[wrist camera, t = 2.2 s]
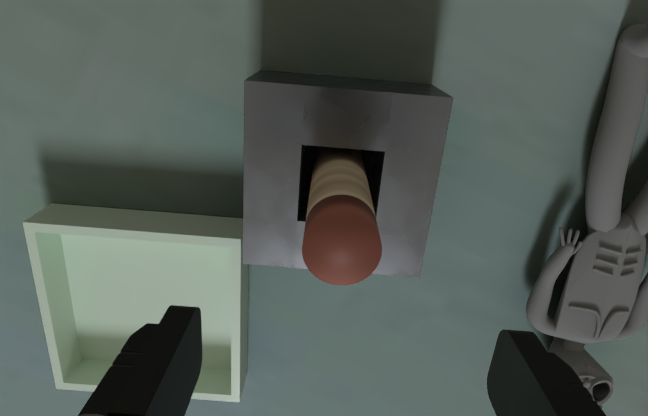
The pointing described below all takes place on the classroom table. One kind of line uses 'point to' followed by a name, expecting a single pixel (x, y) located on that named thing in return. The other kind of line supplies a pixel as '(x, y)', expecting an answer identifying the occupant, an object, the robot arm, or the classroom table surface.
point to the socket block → (340, 132)
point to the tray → (138, 288)
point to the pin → (340, 219)
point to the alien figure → (603, 235)
